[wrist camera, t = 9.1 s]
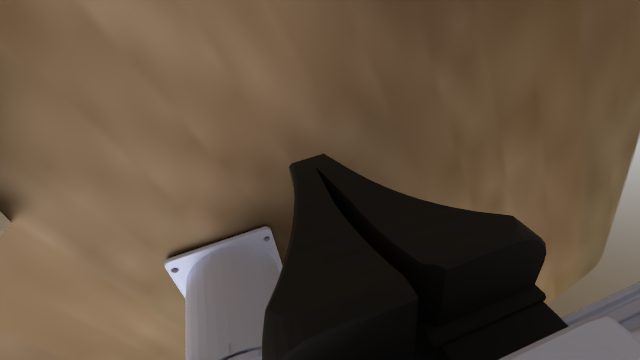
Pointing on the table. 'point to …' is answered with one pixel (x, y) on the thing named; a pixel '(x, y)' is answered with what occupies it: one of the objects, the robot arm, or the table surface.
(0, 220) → the bay
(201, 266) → the robot arm
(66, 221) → the table surface
